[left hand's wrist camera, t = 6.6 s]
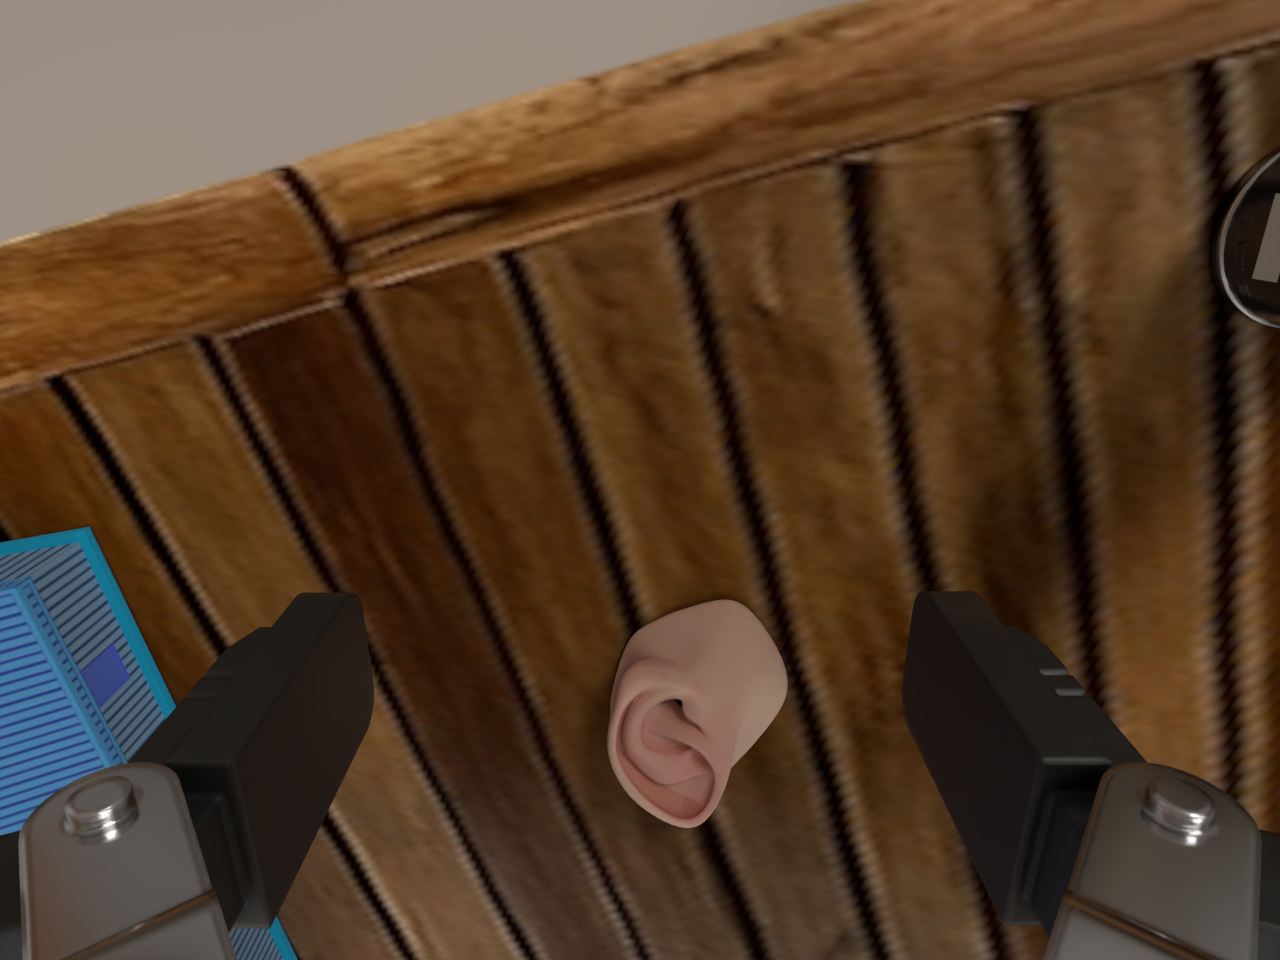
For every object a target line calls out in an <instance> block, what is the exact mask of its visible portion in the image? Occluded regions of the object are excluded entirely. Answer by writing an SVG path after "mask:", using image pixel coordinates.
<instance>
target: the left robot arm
mask: <svg viewBox="0 0 1280 960" xmlns="http://www.w3.org/2000/svg"><path fill="white" fill-rule="evenodd" d="M1211 261H1212V270H1213V275H1214V279H1215V282H1216V285H1217V287H1218V289H1219V292H1220V294H1221V295H1222V297H1223V298H1224V300H1225V301H1226V302H1227V303H1228V305H1229V306H1230V307H1231V308H1232V309H1233V310H1235V311H1236V312H1237V313H1238V314H1240V315H1241V316H1243V317H1245V318H1247V319H1249V320H1251V321H1253V322H1256V323H1260V324H1263V325H1267V326H1271V327H1276V328H1280V147H1279V148H1277V149H1276V150H1274V151H1273V152H1271V153H1270V154H1268V155H1267V156H1266V157H1264V158H1263V159H1262V160H1261V161H1260V162H1258V163H1257V164H1256V165H1255V166H1254V167H1253V168H1252V169H1251V170H1250V171H1249V172H1248V173H1247V174H1246V175H1245V176H1244V178H1243V179H1242V180H1241V181H1240V183H1239V184H1238V185H1237V186H1236V188H1235V189H1234V191H1233V192H1232V194H1231V195H1230V197H1229V199H1228V200H1227V202H1226V204H1225V206H1224V208H1223V210H1222V212H1221V214H1220V217H1219V220H1218V222H1217V225H1216V229H1215V232H1214V237H1213V242H1212V255H1211ZM902 701H903V710H904V715H905V719H906V722H907V725H908V728H909V730H910V732H911V734H912V736H913V738H914V741H915V743H916V745H917V747H918V749H919V751H920V753H921V755H922V757H923V759H924V761H925V763H926V765H927V767H928V769H929V772H930V774H931V776H932V778H933V780H934V782H935V784H936V786H937V788H938V790H939V792H940V794H941V796H942V798H943V801H944V803H945V805H946V807H947V809H948V811H949V813H950V815H951V817H952V819H953V821H954V823H955V825H956V827H957V830H958V832H959V834H960V836H961V838H962V840H963V842H964V844H965V846H966V848H967V850H968V852H969V854H970V856H971V859H972V861H973V863H974V865H975V867H976V869H977V871H978V873H979V875H980V877H981V879H982V881H983V883H984V885H985V888H986V890H987V892H988V894H989V896H990V898H991V900H992V902H993V904H994V906H995V908H996V910H997V912H998V914H999V917H1000V919H1001V921H1002V923H1003V925H1004V926H1043V928H1044V930H1045V932H1046V934H1047V936H1048V938H1049V943H1048V946H1047V949H1046V952H1045V955H1044V959H1043V960H1280V834H1277V833H1273V832H1268V831H1264V830H1260V829H1258V826H1257V824H1256V823H1255V821H1254V820H1253V818H1252V817H1251V815H1250V814H1249V813H1248V812H1247V811H1246V810H1245V809H1244V808H1243V807H1242V806H1241V805H1240V804H1239V803H1238V802H1237V801H1236V800H1234V799H1233V798H1232V797H1231V796H1229V795H1228V794H1226V793H1225V792H1224V791H1222V790H1221V789H1219V788H1217V787H1216V786H1214V785H1212V784H1211V783H1209V782H1207V781H1205V780H1203V779H1201V778H1199V777H1197V776H1194V775H1192V774H1189V773H1187V772H1185V771H1182V770H1178V769H1175V768H1172V767H1168V766H1164V765H1160V764H1153V763H1147V762H1146V760H1145V759H1144V758H1143V757H1142V756H1141V755H1140V753H1139V752H1138V751H1137V750H1136V749H1135V748H1134V746H1133V745H1132V744H1131V743H1130V742H1129V741H1128V739H1127V738H1126V737H1125V736H1124V735H1123V734H1122V733H1121V731H1120V730H1119V729H1118V728H1117V727H1116V726H1115V724H1114V723H1113V722H1112V721H1111V720H1110V719H1109V717H1108V716H1107V715H1106V714H1105V713H1104V712H1103V710H1102V709H1101V708H1100V707H1099V706H1098V705H1097V703H1096V702H1095V701H1094V700H1093V699H1092V698H1091V696H1086V693H1085V689H1084V688H1083V687H1082V686H1081V685H1080V684H1079V682H1078V681H1077V680H1076V679H1075V678H1074V677H1073V675H1069V674H1068V670H1067V668H1066V667H1065V666H1064V665H1063V664H1062V663H1061V661H1060V660H1059V659H1058V658H1057V657H1056V656H1055V655H1054V653H1053V652H1052V651H1051V650H1050V649H1049V648H1048V646H1046V645H1044V644H1043V643H1041V642H1040V641H1038V640H1037V639H1035V638H1033V637H1032V636H1030V635H1029V634H1027V633H1026V632H1024V631H1022V630H1021V629H1019V628H1018V627H1016V626H1003V625H1002V623H1001V622H1000V621H999V620H998V618H997V617H996V616H995V615H994V613H993V612H992V611H991V610H990V608H989V607H988V606H987V605H986V603H985V602H984V601H983V600H982V598H981V597H980V596H979V595H978V594H977V593H975V592H972V591H923V592H920V593H919V594H918V595H917V597H916V599H915V602H914V606H913V612H912V619H911V626H910V633H909V640H908V647H907V654H906V661H905V668H904V675H903V683H902ZM373 703H374V684H373V677H372V670H371V663H370V656H369V649H368V642H367V635H366V628H365V622H364V615H363V608H362V604H361V601H360V599H359V597H358V595H357V594H355V593H301V594H299V595H298V596H297V597H296V598H295V599H294V600H293V601H292V603H291V604H290V605H289V606H288V607H287V609H286V610H285V611H284V612H283V614H282V615H281V616H280V617H279V619H278V620H277V621H276V622H275V624H274V625H273V626H272V627H260V628H258V629H257V630H255V631H254V632H252V633H250V634H249V635H247V636H246V637H244V638H242V639H241V640H239V641H238V642H236V643H235V644H233V645H231V646H230V647H228V648H227V649H226V650H225V651H224V652H223V654H222V655H221V656H220V657H219V658H218V659H217V661H216V662H215V663H214V664H213V665H212V666H211V667H210V669H209V670H208V671H207V672H206V677H202V678H201V679H200V680H199V681H198V682H197V684H196V685H195V686H194V687H193V688H192V689H191V691H190V692H189V697H188V698H184V699H183V700H182V701H181V702H180V703H179V704H178V706H177V707H176V708H175V709H174V710H173V711H172V712H171V714H170V715H169V716H168V717H167V718H166V719H165V721H164V722H163V723H162V724H161V725H160V726H159V727H158V729H157V730H156V731H155V732H154V733H153V734H152V736H151V737H150V738H149V739H148V740H147V741H146V742H145V744H144V745H143V746H142V747H141V748H140V749H139V751H138V752H137V753H136V754H135V755H134V756H133V757H132V759H131V760H130V761H129V762H128V763H127V764H120V765H116V766H112V767H108V768H105V769H102V770H98V771H95V772H93V773H91V774H88V775H86V776H83V777H81V778H79V779H77V780H75V781H73V782H71V783H69V784H68V785H66V786H64V787H63V788H61V789H59V790H58V791H56V792H55V793H54V794H52V795H51V796H49V797H48V798H47V799H46V800H44V801H43V802H42V803H41V804H40V805H39V806H38V807H37V808H36V809H35V810H34V811H33V812H32V813H31V814H30V815H29V817H28V818H27V820H26V821H25V823H24V824H23V826H22V829H21V830H20V831H16V832H12V833H8V834H4V835H0V960H237V959H236V955H235V952H234V949H233V946H232V943H231V939H230V936H229V933H230V931H231V929H270V928H271V926H272V924H273V922H274V920H275V918H276V916H277V914H278V912H279V910H280V908H281V905H282V903H283V901H284V899H285V897H286V895H287V893H288V891H289V889H290V887H291V885H292V883H293V881H294V879H295V877H296V875H297V873H298V871H299V869H300V867H301V865H302V862H303V860H304V858H305V856H306V854H307V852H308V850H309V848H310V846H311V844H312V842H313V840H314V838H315V836H316V834H317V832H318V830H319V828H320V826H321V824H322V822H323V820H324V817H325V815H326V813H327V811H328V809H329V807H330V805H331V803H332V801H333V799H334V797H335V795H336V793H337V791H338V789H339V787H340V785H341V783H342V781H343V779H344V777H345V775H346V772H347V770H348V768H349V766H350V764H351V762H352V760H353V758H354V756H355V754H356V752H357V750H358V748H359V746H360V744H361V742H362V740H363V738H364V736H365V734H366V732H367V729H368V727H369V724H370V720H371V716H372V711H373Z"/></svg>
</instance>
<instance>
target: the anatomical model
mask: <svg viewBox="0 0 1280 960" xmlns="http://www.w3.org/2000/svg"><path fill="white" fill-rule="evenodd" d="M787 686H788V685H787V674H786V669H785V666H784V663H783V660H782V658H781V655H780V653H779V651H778V649H777V647H776V645H775V644H774V642H773V640H772V638H771V637H770V635H769V634H768V632H767V631H766V629H765V628H764V626H763V625H762V624H761V622H760V621H759V620H758V619H757V618H756V616H755V615H754V614H753V613H752V612H751V611H750V610H749V609H748V608H747V607H745V606H744V605H742V604H741V603H738V602H736V601H733V600H715V601H710V602H706V603H701V604H698V605H695V606H692V607H689V608H686V609H682V610H679V611H676V612H673V613H671V614H668V615H666V616H664V617H662V618H660V619H658V620H656V621H654V622H651V623H649V624H647V625H645V626H644V627H642V628H641V629H639V630H638V631H637V632H636V633H635V634H634V635H633V636H632V637H631V639H630V640H629V642H628V644H627V646H626V648H625V650H624V652H623V655H622V658H621V661H620V663H619V667H618V670H617V673H616V677H615V681H614V685H613V689H612V695H611V702H610V721H609V726H608V734H607V748H608V755H609V759H610V762H611V765H612V768H613V770H614V773H615V775H616V776H617V778H618V780H619V782H620V783H621V785H622V786H623V788H624V789H625V791H626V792H627V793H628V794H629V795H630V797H631V798H632V799H633V800H634V801H635V802H636V803H637V804H639V805H640V806H641V807H642V808H644V809H645V810H647V811H648V812H649V813H651V814H652V815H654V816H656V817H657V818H659V819H661V820H663V821H665V822H667V823H669V824H672V825H675V826H678V827H683V828H691V827H695V826H698V825H700V824H701V823H703V822H704V821H705V820H706V819H707V818H708V817H709V816H710V815H711V814H712V812H713V811H714V809H715V808H716V806H717V804H718V802H719V800H720V798H721V796H722V794H723V792H724V789H725V787H726V784H727V781H728V778H729V774H730V770H731V767H732V766H733V765H734V764H735V763H736V762H737V761H738V760H739V759H740V758H741V757H742V756H743V755H744V754H745V753H746V752H747V751H748V750H749V749H750V748H751V746H752V745H753V744H754V743H755V742H756V741H757V739H758V738H759V737H760V736H761V735H762V734H763V732H764V731H765V730H766V729H767V727H768V726H769V725H770V723H771V722H772V721H773V719H774V718H775V716H776V715H777V714H778V712H779V710H780V708H781V707H782V705H783V702H784V700H785V697H786V693H787Z"/></svg>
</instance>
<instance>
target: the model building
mask: <svg viewBox="0 0 1280 960" xmlns="http://www.w3.org/2000/svg"><path fill="white" fill-rule="evenodd" d="M175 708H176V705H175V703H174V701H173V699H172V697H171V695H170V693H169V691H168V689H167V687H166V684H165V682H164V680H163V678H162V676H161V674H160V672H159V670H158V668H157V666H156V664H155V662H154V659H153V657H152V655H151V653H150V651H149V649H148V647H147V645H146V643H145V641H144V639H143V637H142V635H141V632H140V630H139V628H138V626H137V624H136V622H135V620H134V618H133V616H132V614H131V612H130V610H129V608H128V605H127V603H126V601H125V599H124V597H123V595H122V593H121V591H120V589H119V587H118V585H117V583H116V580H115V578H114V576H113V574H112V572H111V570H110V568H109V566H108V564H107V562H106V560H105V558H104V556H103V553H102V551H101V549H100V547H99V545H98V543H97V541H96V539H95V537H94V535H93V533H92V531H91V529H90V527H85V528H80V529H74V530H69V531H63V532H57V533H52V534H46V535H40V536H35V537H29V538H24V539H18V540H12V541H7V542H1V543H0V835H4V834H8V833H12V832H16V831H20V830H21V829H22V826H23V824H24V823H25V821H26V820H27V818H28V817H29V815H30V814H31V813H32V812H33V811H34V810H35V809H36V808H37V807H38V806H39V805H40V804H41V803H42V802H43V801H44V800H46V799H47V798H48V797H49V796H51V795H52V794H54V793H55V792H56V791H58V790H59V789H61V788H63V787H64V786H66V785H68V784H69V783H71V782H73V781H75V780H77V779H79V778H81V777H83V776H86V775H88V774H91V773H93V772H95V771H98V770H102V769H105V768H108V767H112V766H116V765H120V764H127V763H128V762H129V761H130V760H131V759H132V757H133V756H134V755H135V754H136V753H137V752H138V751H139V749H140V748H141V747H142V746H143V745H144V744H145V742H146V741H147V740H148V739H149V738H150V737H151V736H152V734H153V733H154V732H155V731H156V730H157V729H158V727H159V726H160V725H161V724H162V723H163V722H164V721H165V719H166V718H167V717H168V716H169V715H170V714H171V712H172V711H173V710H174V709H175ZM229 936H230V939H231V943H232V946H233V949H234V952H235V955H236V959H237V960H298V959H297V957H296V955H295V953H294V951H293V948H292V946H291V944H290V942H289V940H288V938H287V936H286V934H285V932H284V930H283V928H282V926H281V924H280V921H279V919H278V917H277V916H276V918H275V920H274V922H273V924H272V926H271V928H270V929H231V931H230V933H229Z"/></svg>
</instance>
